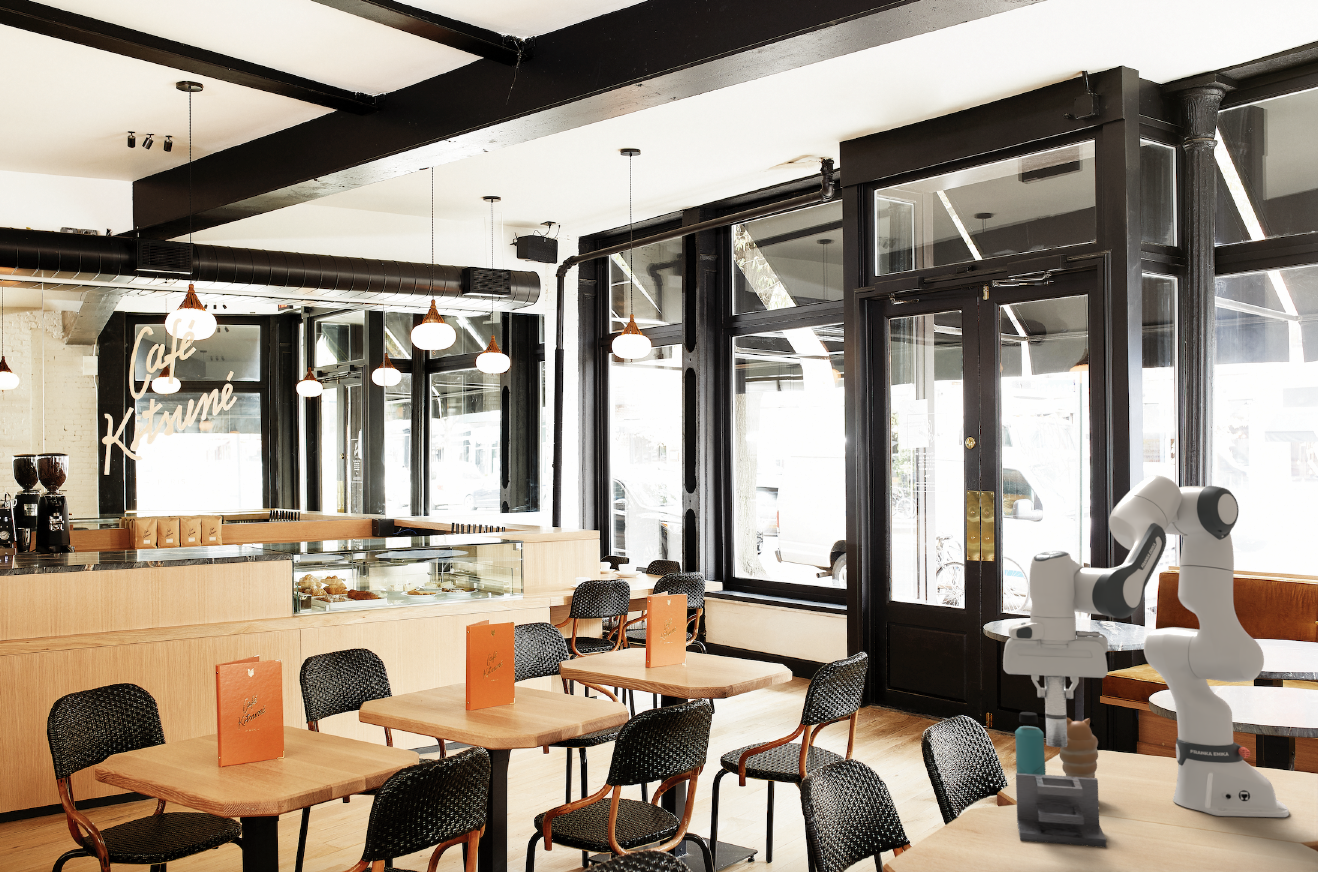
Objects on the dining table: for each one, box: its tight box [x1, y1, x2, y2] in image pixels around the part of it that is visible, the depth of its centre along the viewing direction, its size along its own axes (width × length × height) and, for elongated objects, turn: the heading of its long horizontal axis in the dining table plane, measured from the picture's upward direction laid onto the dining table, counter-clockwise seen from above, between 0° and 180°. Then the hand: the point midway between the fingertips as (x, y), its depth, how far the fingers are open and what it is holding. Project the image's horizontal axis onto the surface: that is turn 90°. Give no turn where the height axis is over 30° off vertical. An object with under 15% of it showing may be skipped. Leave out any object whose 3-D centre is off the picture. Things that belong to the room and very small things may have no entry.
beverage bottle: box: [1014, 711, 1047, 775], centre depth 233 cm, size 6×7×20 cm
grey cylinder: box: [1043, 675, 1068, 748], centre depth 210 cm, size 4×4×14 cm
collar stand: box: [1015, 772, 1107, 848], centre depth 209 cm, size 16×12×10 cm
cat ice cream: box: [1058, 717, 1099, 778], centre depth 237 cm, size 9×8×18 cm
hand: (1055, 697), depth 210 cm, fingers closed on grey cylinder, 4 cm apart
